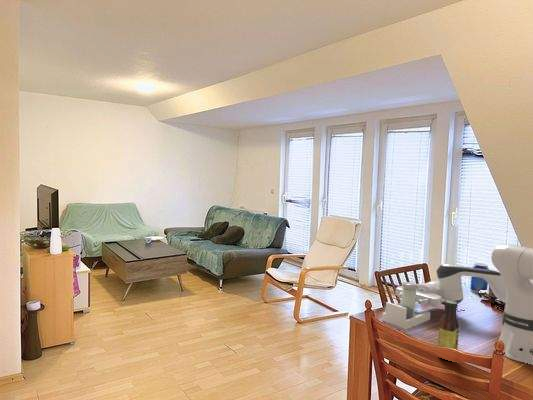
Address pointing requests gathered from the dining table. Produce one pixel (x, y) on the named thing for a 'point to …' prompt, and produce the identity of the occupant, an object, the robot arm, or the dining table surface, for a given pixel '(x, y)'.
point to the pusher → (408, 312)
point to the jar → (409, 295)
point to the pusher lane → (402, 316)
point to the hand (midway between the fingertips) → (409, 299)
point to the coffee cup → (492, 296)
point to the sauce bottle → (449, 326)
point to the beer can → (478, 280)
